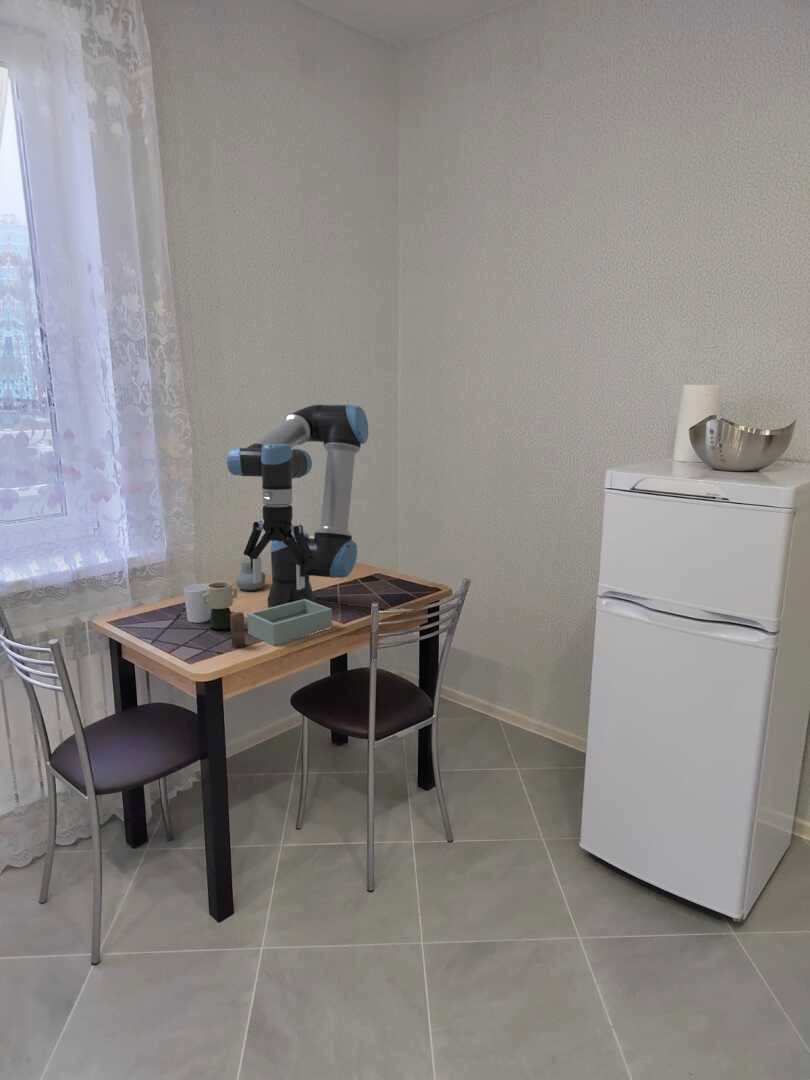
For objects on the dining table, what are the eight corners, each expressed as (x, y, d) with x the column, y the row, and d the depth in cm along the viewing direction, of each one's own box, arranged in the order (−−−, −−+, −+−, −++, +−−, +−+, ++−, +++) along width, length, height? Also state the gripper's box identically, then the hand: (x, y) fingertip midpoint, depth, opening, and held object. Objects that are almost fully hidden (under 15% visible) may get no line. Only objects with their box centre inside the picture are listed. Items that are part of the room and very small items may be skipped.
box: (273, 645, 192) (273, 625, 191) (248, 633, 202) (247, 613, 200) (332, 628, 206) (331, 608, 205) (305, 617, 215) (305, 598, 214)
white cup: (181, 618, 214) (179, 586, 212) (206, 613, 219) (204, 582, 217) (192, 625, 208) (190, 592, 206) (217, 620, 213) (215, 587, 211)
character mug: (232, 620, 212) (230, 578, 210) (244, 626, 207) (242, 583, 204) (198, 628, 205) (195, 585, 202) (210, 635, 200) (207, 591, 197)
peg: (229, 646, 192) (227, 615, 190) (238, 642, 195) (236, 611, 193) (238, 649, 190) (237, 617, 188) (247, 645, 193) (246, 613, 191)
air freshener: (243, 583, 251) (242, 556, 248) (266, 584, 250) (265, 556, 248) (235, 592, 240) (233, 564, 238) (259, 593, 240) (258, 564, 237)
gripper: (228, 503, 184) (231, 582, 188) (310, 510, 173) (311, 594, 177) (246, 499, 190) (248, 576, 194) (326, 506, 180) (327, 587, 184)
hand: (278, 585), depth 186 cm, fingers open, 13 cm apart
